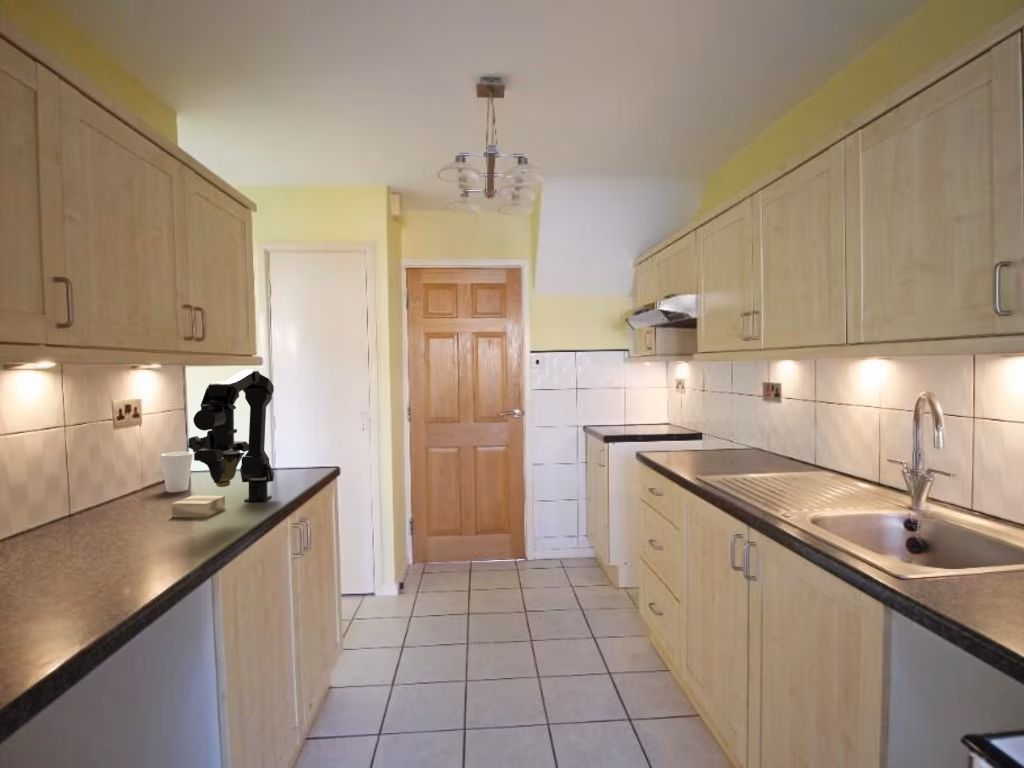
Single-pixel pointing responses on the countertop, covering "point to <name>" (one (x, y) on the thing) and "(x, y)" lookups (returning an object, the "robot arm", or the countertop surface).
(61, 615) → the countertop surface
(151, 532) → the countertop surface
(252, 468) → the robot arm
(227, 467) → the cup
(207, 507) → the pedestal
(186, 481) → the foam cup
